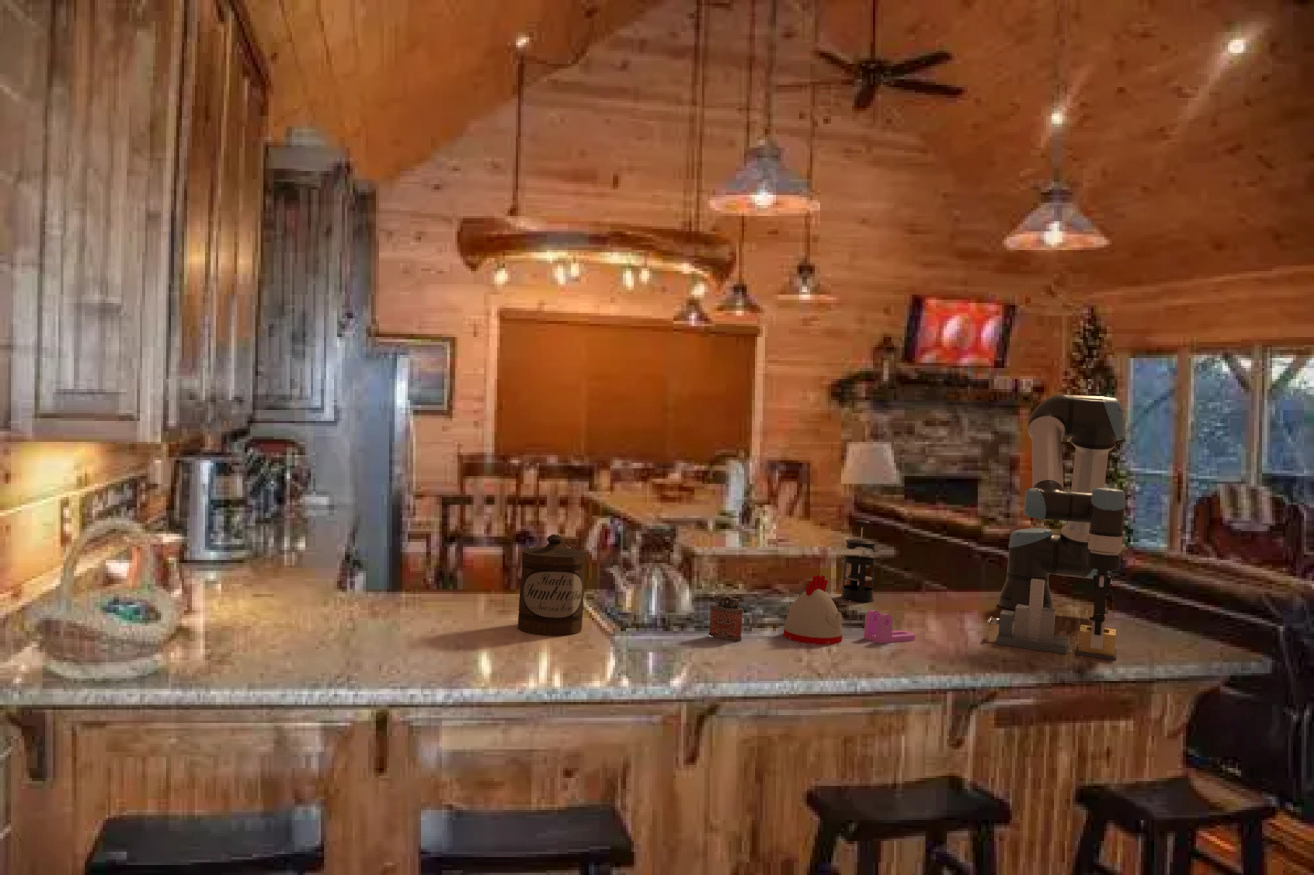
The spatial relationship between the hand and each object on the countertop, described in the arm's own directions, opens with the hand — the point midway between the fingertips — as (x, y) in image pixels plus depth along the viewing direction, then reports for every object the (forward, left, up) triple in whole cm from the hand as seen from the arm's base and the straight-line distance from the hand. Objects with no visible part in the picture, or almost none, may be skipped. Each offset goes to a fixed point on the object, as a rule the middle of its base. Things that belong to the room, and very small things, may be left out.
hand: (1096, 643), depth 264 cm
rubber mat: (0, 0, -2) cm, 2 cm away
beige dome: (+30, -62, -2) cm, 69 cm away
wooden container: (+62, -116, -2) cm, 132 cm away
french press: (-30, -65, -2) cm, 72 cm away
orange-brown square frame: (0, 0, -2) cm, 2 cm away
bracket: (+18, -46, -3) cm, 49 cm away
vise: (+1, -16, -2) cm, 16 cm away
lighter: (+45, -79, -2) cm, 91 cm away
